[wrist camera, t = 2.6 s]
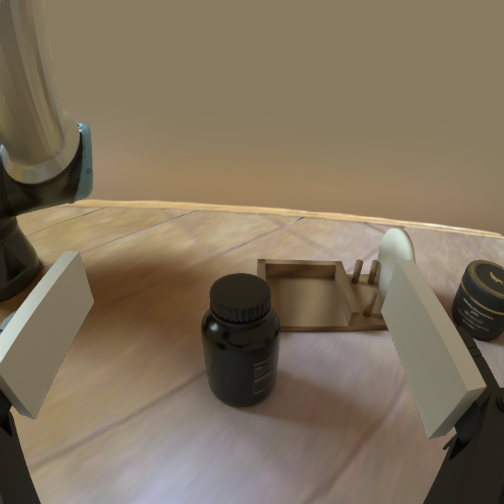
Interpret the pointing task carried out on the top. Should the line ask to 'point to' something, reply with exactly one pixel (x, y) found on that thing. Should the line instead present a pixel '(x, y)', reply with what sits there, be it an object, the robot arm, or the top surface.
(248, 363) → the supplement bottle
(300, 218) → the top surface
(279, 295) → the dish rack
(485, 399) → the robot arm
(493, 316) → the jar
